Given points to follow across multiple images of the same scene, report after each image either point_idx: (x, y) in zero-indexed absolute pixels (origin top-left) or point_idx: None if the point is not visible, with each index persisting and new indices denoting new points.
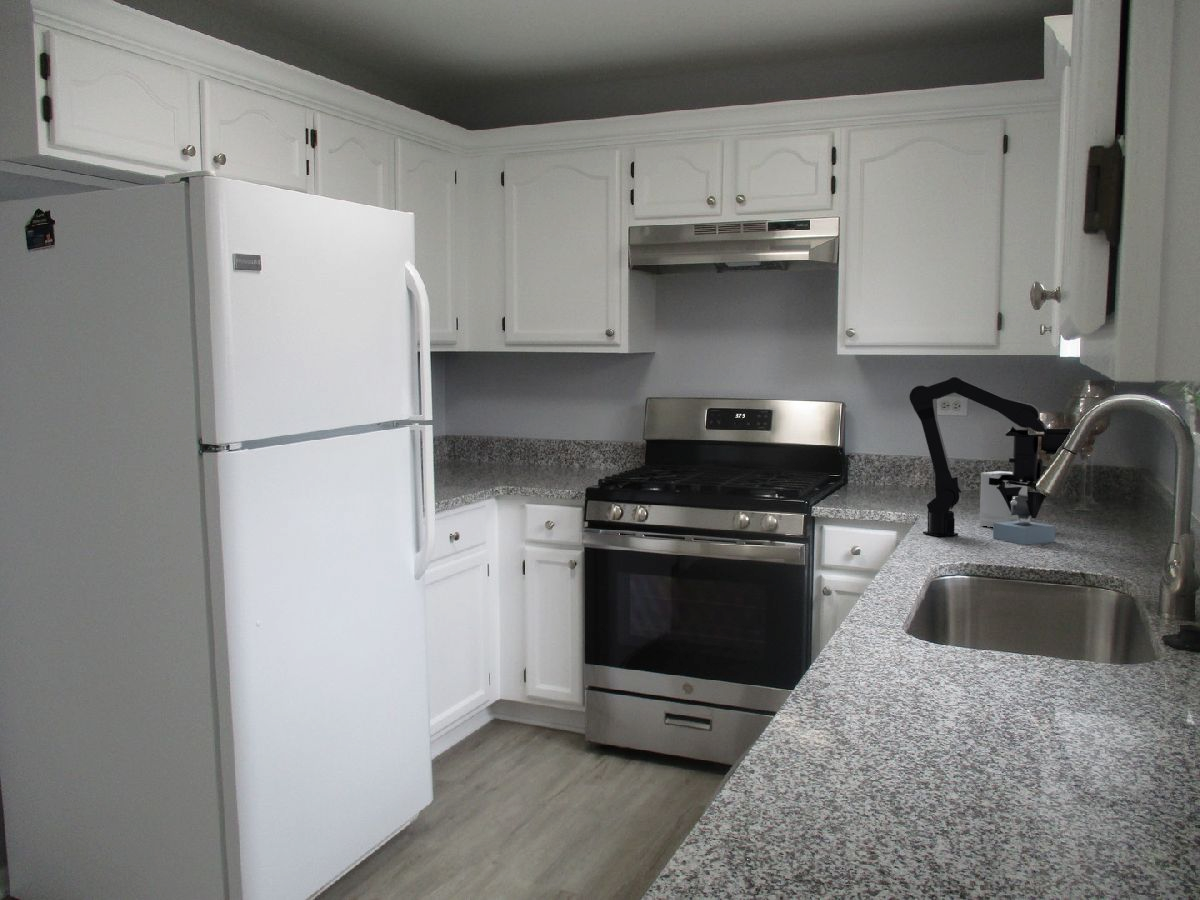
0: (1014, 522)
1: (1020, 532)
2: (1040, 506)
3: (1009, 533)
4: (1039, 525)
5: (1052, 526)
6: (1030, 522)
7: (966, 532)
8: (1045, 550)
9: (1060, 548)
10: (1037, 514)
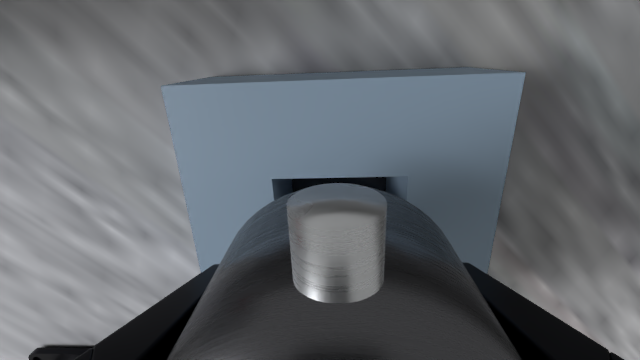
0: (238, 229)
1: None
2: (592, 347)
3: None
4: (434, 176)
5: (516, 106)
6: (277, 120)
7: (42, 261)
8: (596, 300)
9: (616, 205)
10: (495, 280)
